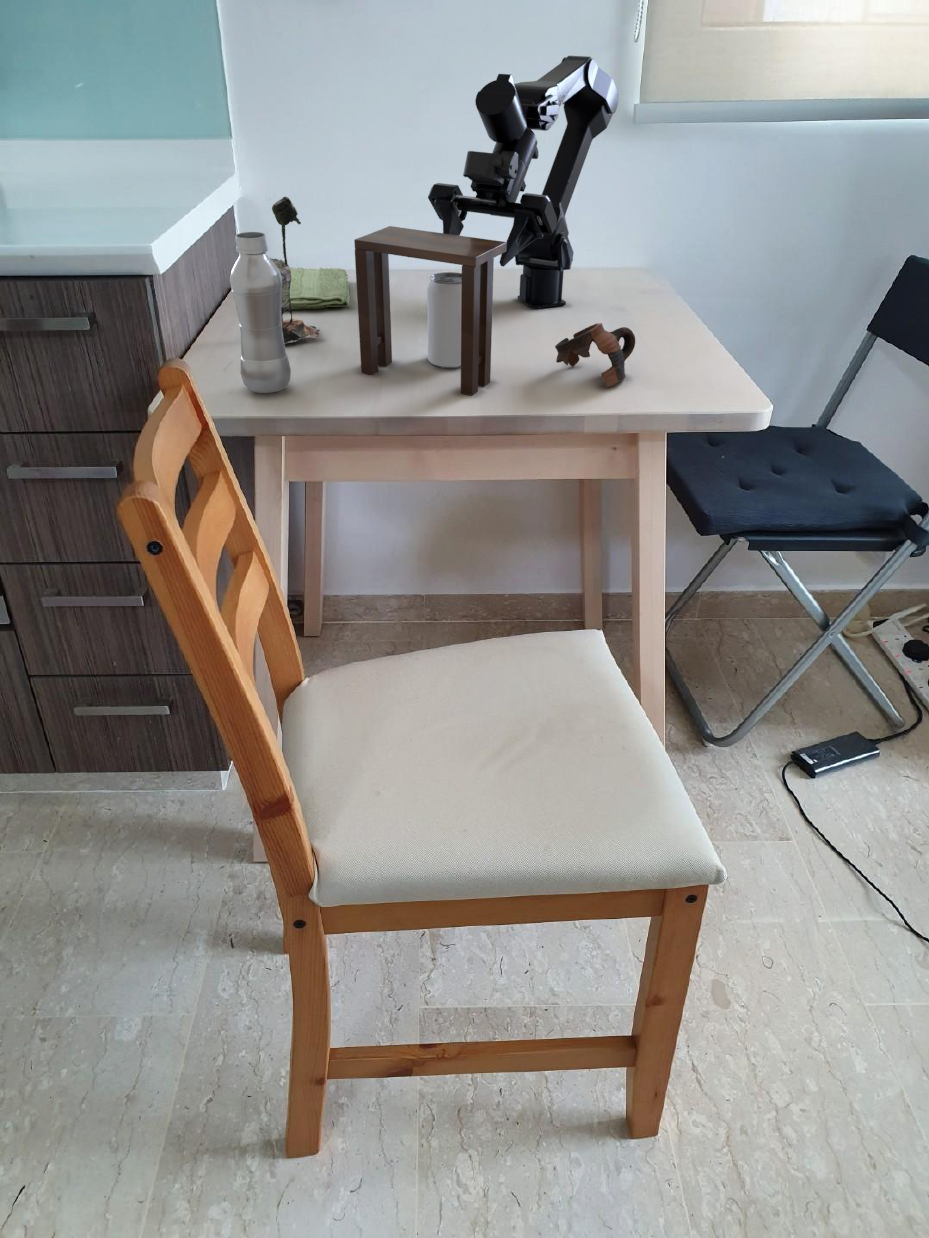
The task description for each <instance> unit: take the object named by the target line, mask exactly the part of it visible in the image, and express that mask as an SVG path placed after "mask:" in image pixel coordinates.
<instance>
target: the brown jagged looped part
mask: <svg viewBox="0 0 929 1238" xmlns="http://www.w3.org/2000/svg"><path fill="white" fill-rule="evenodd" d="M603 325H604V324H603V323H602V322H596V323H594V324H592V325H590V326H589V325H588V327H585V328H583V329H581V330H579V331H576V332H575V333H573V335H572V336H573V338H571V339H569V338H568V337H565V338H563V339H562V340H560V341H559V342H558V343H557V344H555V346H554V348H555V349H556V351H557V356H556V359H555V362H556V363H558V364H559V363H562V362H563V364H564V365H565V366H568V365H569V366H571V367H575V366H576V365H577V364H578V363H579V361H580V357H582V358H590V357H591V354H590V349H591V345H592V343H594V344H595V346H596V347H597V350H598V351H599V352H600V353H601V354H603V355H607V357H608V359H609V361H610V363H611V366H610V368H608V369H607V370H604V371H603V372H602V373H601V377H602V379H603V381H604V387H605V388H606V389H608V388H610V387H613V386H614V385H616V384H617V383H620V382H621V381H624V379H625V378H626V369H625V362H626V360H627V359H628V358H629V357H630V356H631V355H632V354H633V352H634V349H635V346H636V336H635V333H634V331H633V330H632V329H630V328H629V327H627V326H622V327H619V328H616V329H614V330H613V331H608V330H605V327H604V326H603ZM621 339H623V345H622V346H621V344H620V340H621Z"/></svg>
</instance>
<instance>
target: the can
mask: <svg viewBox="0 0 929 1238" xmlns="http://www.w3.org/2000/svg"><path fill="white" fill-rule="evenodd" d="M429 279H430V282H429V284H428V286H427V291H426V292H427V293H426V294H427V295H426V296H427V299H426V301H427V302H426V304H427V306H426V307H427V308H426V309H427V310H426V311H427V315H426V316H427V318H426V319H427V360H428V362H430V364H431V365H432V366H434V367H437V368H442V369H459V368H460V369H461V294H462V272H456V271H455V272H453V271H446V272H445V271H443V272H438V273H434V274H432V275H430V277H429Z"/></svg>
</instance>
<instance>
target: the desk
mask: <svg viewBox="0 0 929 1238" xmlns="http://www.w3.org/2000/svg"><path fill="white" fill-rule="evenodd" d="M506 249H507V241H501V240H494V239H487V238H479V237H472V236H465V235H460V236H459V235H451V234H444V233H443V232H435V231H428V230H421V229H415V228H406V227H400V226H393V225H389V226H387V227H384V228H381V229H379V230H376V231H373V232H371V233H368V234H366V235H365V234H364V235H362V236H360V237H358V238H355V239H354V261H355V262H354V263H355V279H356V281H355V283H356V299H357V314H358V315H357V316H358V317H357V318H358V334H359V335H358V336H359V337H358V338H359V354H360V355H359V356H360V370H361V371H360V372H361V374H366V375H371V376H372V375H375V374H376V373H378V372H379V366H382V367H387V366H389V365H391V364H393V349H392V348H393V347H392V345H393V344H392V319H391V317H392V316H391V290H390V289H391V287H390V263H389V261H390V259H389V255H393V256H398V257H405V258H411V259H412V258H413V259H419V260H426V261H432V262H439V263H445V264H452V265H459V266H461V273H462V294H461V367H460V394H463V395H468V396H471V397H472V396H474V395H475V394H477V393H478V392H479V386H480V387H487V385H489V384H490V383H491V373H492V372H491V371H492V370H491V368H492V367H491V366H492V338H493V337H492V335H493V302H494V301H493V295H494V267H495V266H494V265H495V262H494V261H495V260H494V259H495V258H496V257H498V256H501V255H502V253H504V252H506Z"/></svg>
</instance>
